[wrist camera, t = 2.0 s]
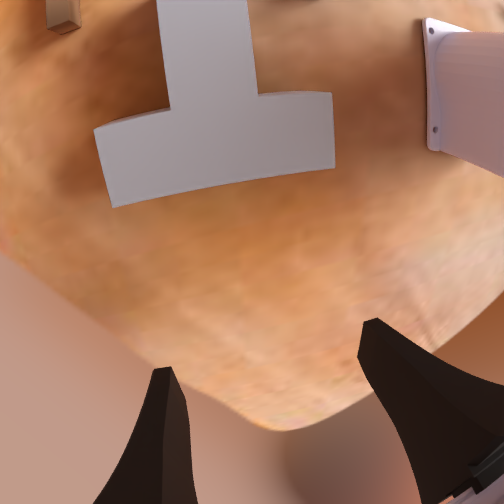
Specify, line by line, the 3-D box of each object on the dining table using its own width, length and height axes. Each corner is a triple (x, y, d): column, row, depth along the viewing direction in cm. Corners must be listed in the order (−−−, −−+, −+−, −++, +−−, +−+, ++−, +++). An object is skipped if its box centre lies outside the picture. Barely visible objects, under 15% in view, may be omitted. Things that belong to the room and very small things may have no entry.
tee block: (304, 150, 17) (335, 167, 14) (126, 182, 16) (112, 208, 13) (287, -16, 12) (315, -39, 9) (98, 9, 11) (75, -11, 8)
